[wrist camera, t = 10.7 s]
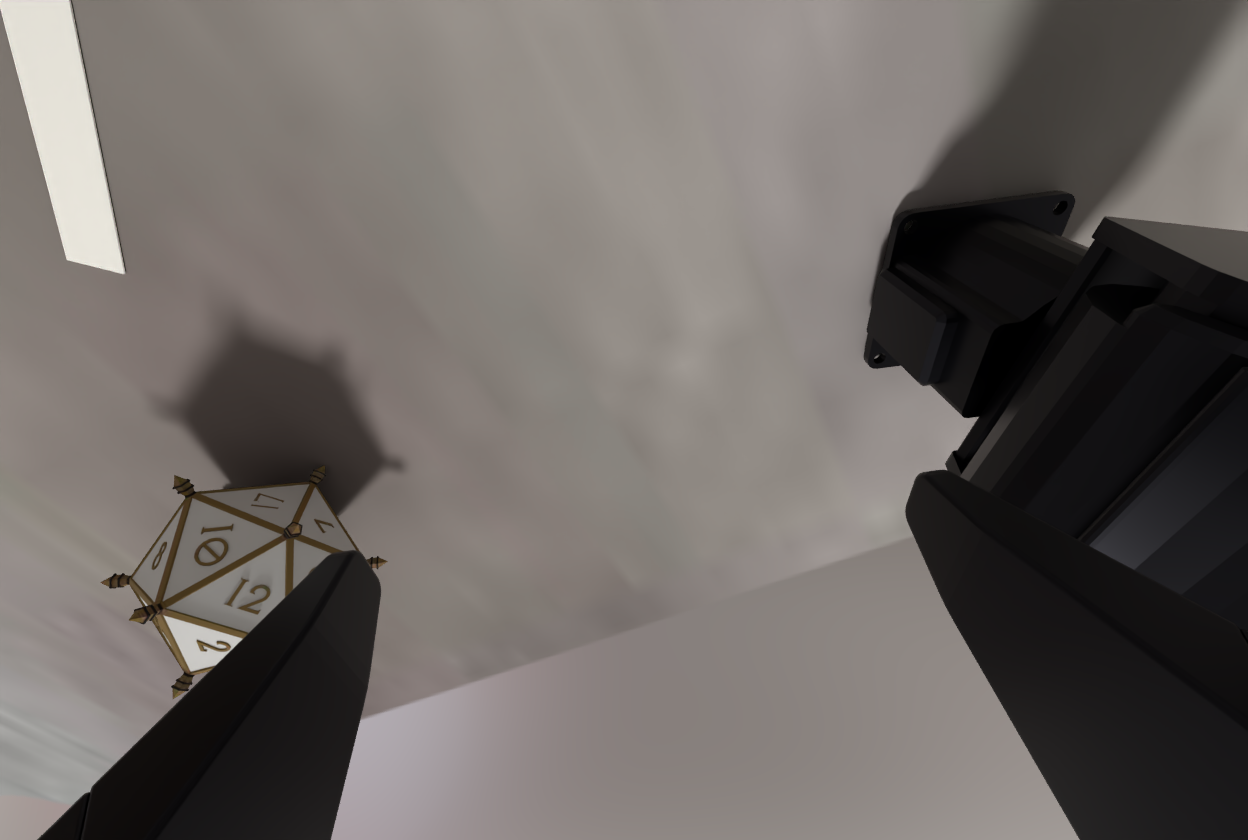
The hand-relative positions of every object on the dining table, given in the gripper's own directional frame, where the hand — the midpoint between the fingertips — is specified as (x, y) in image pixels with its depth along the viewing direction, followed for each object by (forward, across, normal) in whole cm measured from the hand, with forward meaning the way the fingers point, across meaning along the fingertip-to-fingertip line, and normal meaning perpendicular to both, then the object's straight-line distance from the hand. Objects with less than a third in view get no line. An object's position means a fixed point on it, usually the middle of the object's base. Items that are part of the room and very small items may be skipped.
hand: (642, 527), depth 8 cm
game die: (+13, +16, +10) cm, 23 cm away
